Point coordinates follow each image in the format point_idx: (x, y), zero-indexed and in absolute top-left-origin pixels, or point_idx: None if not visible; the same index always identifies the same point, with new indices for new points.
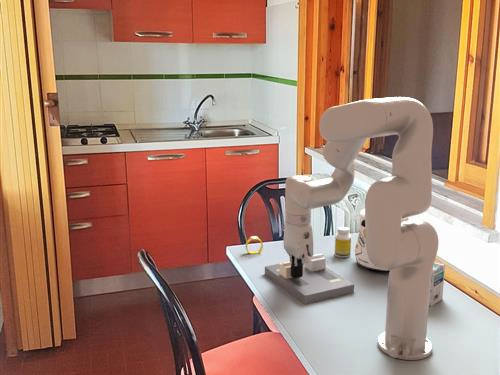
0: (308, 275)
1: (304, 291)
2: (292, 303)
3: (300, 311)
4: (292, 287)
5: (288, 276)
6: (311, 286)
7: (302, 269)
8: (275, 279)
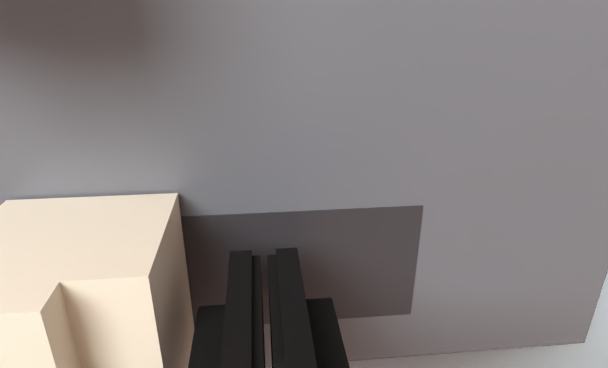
0: (197, 90)
1: (521, 315)
2: (480, 357)
3: (598, 358)
4: (377, 352)
5: (189, 340)
6: (478, 214)
7: (305, 306)
8: None
